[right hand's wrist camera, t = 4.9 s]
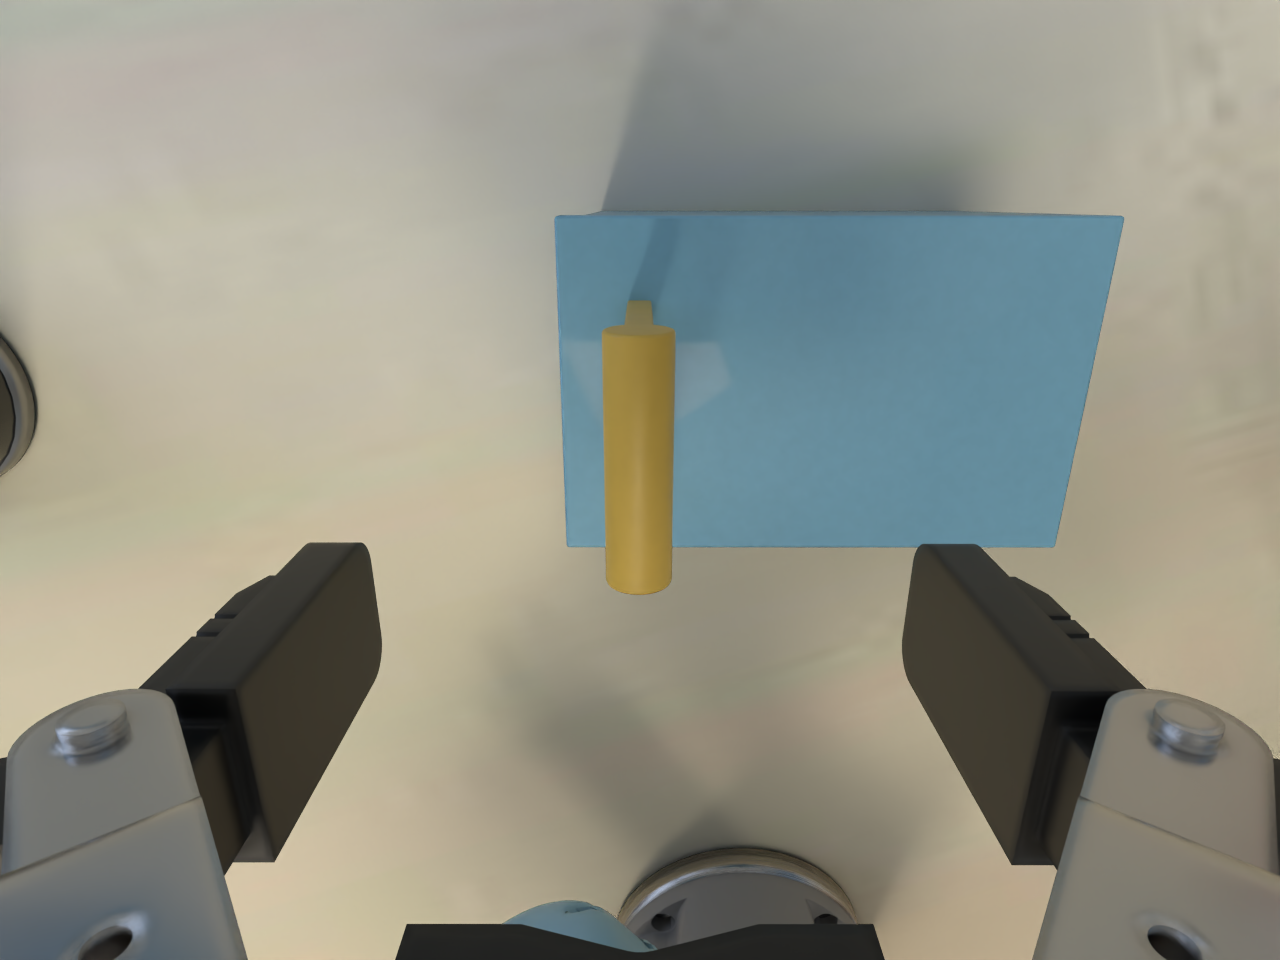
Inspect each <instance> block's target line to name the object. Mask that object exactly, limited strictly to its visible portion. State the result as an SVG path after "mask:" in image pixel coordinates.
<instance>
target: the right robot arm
mask: <svg viewBox="0 0 1280 960" xmlns="http://www.w3.org/2000/svg"><path fill="white" fill-rule="evenodd" d="M34 422H35V411H34V402H33V397H32V393H31V389H30V386H29V383H28V380H27V378H26V375H25V373H24V371H23V369H22V367H21V365H20V363H19V362H18V360H17V358H16V357H15V355H14V354H13V352H12V351H11V350H10V348H9V347H8V345H7V344H6V343H5V342H4V341H3V339H2V338H1V337H0V476H1V475H2V474H4V473H6V472H7V471H9V470H10V469H11V468H12V467H14V466H15V465H16V464H17V463H18V461H19V460H20V459H21V458H22V456H23V455H24V454H25V452H26V450H27V448H28V446H29V444H30V441H31V438H32V434H33V430H34ZM1070 617H1071V616H1070V615H1069V614H1068V613H1067V612H1066V611H1065V610H1064V609H1063V608H1062V607H1061V606H1060V605H1059V604H1058V603H1057V602H1056V601H1055V600H1053V599H1052V598H1051V597H1050V596H1049V595H1048V594H1046V593H1044V592H1042V591H1041V590H1039V589H1037V588H1035V587H1033V586H1031V585H1029V584H1028V583H1026V582H1024V581H1022V580H1020V579H1018V578H1016V577H1009V576H1008V575H1007V574H1006V573H1005V572H1004V571H1003V570H1002V569H1001V568H1000V567H999V566H998V565H997V564H996V563H995V562H994V561H993V560H992V559H991V558H990V557H989V556H988V555H987V554H986V553H985V552H984V551H983V549H982V548H981V547H979V546H978V545H976V544H921V545H920V546H919V547H918V549H917V551H916V553H915V556H914V561H913V567H912V574H911V581H910V588H909V595H908V602H907V609H906V616H905V624H904V631H903V639H902V655H903V663H904V668H905V672H906V675H907V678H908V681H909V683H910V684H911V686H912V688H913V690H914V692H915V693H916V695H917V697H918V699H919V701H920V702H921V704H922V706H923V708H924V709H925V711H926V713H927V715H928V717H929V718H930V720H931V722H932V724H933V725H934V727H935V729H936V731H937V733H938V734H939V736H940V738H941V740H942V742H943V743H944V745H945V747H946V749H947V750H948V752H949V754H950V756H951V758H952V759H953V761H954V763H955V765H956V767H957V768H958V770H959V772H960V774H961V775H962V777H963V779H964V781H965V783H966V784H967V786H968V788H969V790H970V791H971V793H972V795H973V797H974V799H975V800H976V802H977V804H978V806H979V808H980V809H981V811H982V813H983V815H984V816H985V818H986V820H987V822H988V824H989V825H990V827H991V829H992V831H993V832H994V834H995V836H996V838H997V840H998V841H999V843H1000V845H1001V847H1002V849H1003V850H1004V852H1005V854H1006V856H1007V857H1008V859H1009V861H1010V863H1011V865H1054V866H1055V868H1056V869H1057V874H1056V877H1055V881H1054V884H1053V888H1052V892H1051V895H1050V899H1049V902H1048V906H1047V909H1046V913H1045V916H1044V920H1043V923H1042V927H1041V930H1040V934H1039V937H1038V941H1037V944H1036V948H1035V951H1034V955H1033V959H1032V960H1280V760H1279V759H1274V758H1273V757H1272V753H1271V751H1270V749H1269V747H1268V745H1267V744H1266V743H1265V742H1264V740H1263V739H1262V738H1261V737H1260V736H1259V735H1258V734H1257V733H1256V732H1255V731H1254V730H1252V729H1251V728H1250V727H1249V726H1247V725H1246V724H1244V723H1243V722H1242V721H1240V720H1239V719H1237V718H1235V717H1234V716H1232V715H1230V714H1229V713H1227V712H1225V711H1223V710H1221V709H1219V708H1217V707H1214V706H1212V705H1210V704H1207V703H1205V702H1203V701H1200V700H1197V699H1194V698H1191V697H1188V696H1184V695H1181V694H1177V693H1172V692H1167V691H1162V690H1154V689H1146V688H1145V687H1144V686H1143V685H1142V684H1141V683H1140V682H1139V681H1138V680H1137V679H1136V678H1135V677H1134V676H1133V675H1132V674H1131V673H1129V672H1128V671H1127V670H1126V669H1125V668H1124V667H1123V666H1122V665H1121V664H1120V663H1119V662H1118V661H1117V660H1116V659H1115V658H1114V657H1113V656H1112V655H1111V654H1110V653H1109V652H1108V651H1107V650H1106V649H1104V648H1103V647H1102V646H1101V645H1100V644H1099V643H1098V642H1097V641H1096V640H1095V639H1094V638H1089V633H1088V632H1087V631H1086V630H1085V629H1084V628H1083V627H1082V626H1081V625H1080V624H1078V623H1077V622H1076V621H1075V620H1071V618H1070ZM381 653H382V638H381V629H380V622H379V615H378V608H377V601H376V593H375V586H374V579H373V572H372V565H371V559H370V555H369V551H368V549H367V547H366V546H365V545H364V544H363V543H308V544H306V545H305V546H304V547H303V548H302V549H301V550H300V551H299V552H298V553H297V554H296V555H295V556H294V557H293V558H292V559H291V560H290V561H289V562H288V563H287V564H286V565H285V566H284V567H283V568H282V570H281V571H280V572H279V573H278V574H277V575H276V576H268V577H266V578H264V579H262V580H260V581H259V582H257V583H255V584H253V585H251V586H249V587H247V588H246V589H244V590H242V591H240V592H238V593H236V594H235V595H234V596H233V597H232V598H231V599H230V600H229V601H228V602H227V603H226V604H225V605H224V606H223V607H222V608H221V609H220V610H219V611H218V612H217V613H216V614H215V618H214V619H210V620H209V621H208V622H207V623H205V624H204V625H203V626H202V627H201V628H200V629H199V630H198V631H197V636H196V637H191V638H190V639H189V640H188V641H187V642H186V643H185V644H184V645H183V646H182V647H181V648H180V649H179V650H178V651H177V652H176V653H175V654H174V655H172V656H171V657H170V658H169V659H168V660H167V661H166V662H165V663H164V664H163V665H162V666H161V667H160V668H159V669H158V670H157V671H156V672H155V673H154V674H153V675H152V676H151V677H150V678H149V679H148V680H147V681H146V682H145V683H144V684H143V685H142V686H141V687H139V688H138V689H126V690H118V691H113V692H108V693H103V694H99V695H96V696H92V697H89V698H86V699H83V700H80V701H77V702H75V703H73V704H70V705H68V706H66V707H63V708H61V709H59V710H57V711H55V712H53V713H51V714H50V715H48V716H46V717H45V718H43V719H41V720H40V721H38V722H37V723H36V724H34V725H33V726H31V727H30V728H29V729H28V730H26V731H25V732H24V733H23V734H22V735H21V736H20V737H19V738H18V739H17V740H16V742H15V743H14V744H13V745H12V747H11V749H10V751H9V753H8V756H7V757H6V758H1V759H0V960H248V959H247V955H246V951H245V948H244V944H243V941H242V937H241V934H240V930H239V927H238V923H237V920H236V916H235V913H234V909H233V906H232V902H231V899H230V895H229V892H228V888H227V884H226V881H225V877H224V876H225V874H226V872H227V871H228V869H229V867H230V866H231V864H232V863H233V862H275V860H276V858H277V856H278V855H279V853H280V851H281V849H282V847H283V846H284V844H285V842H286V840H287V838H288V837H289V835H290V833H291V831H292V829H293V828H294V826H295V824H296V822H297V820H298V819H299V817H300V815H301V813H302V811H303V810H304V808H305V806H306V804H307V802H308V801H309V799H310V797H311V795H312V793H313V791H314V790H315V788H316V786H317V784H318V782H319V781H320V779H321V777H322V775H323V773H324V772H325V770H326V768H327V766H328V764H329V763H330V761H331V759H332V757H333V755H334V754H335V752H336V750H337V748H338V746H339V745H340V743H341V741H342V739H343V737H344V736H345V734H346V732H347V730H348V728H349V727H350V725H351V723H352V721H353V719H354V717H355V716H356V714H357V712H358V710H359V708H360V707H361V705H362V703H363V701H364V699H365V698H366V696H367V694H368V692H369V690H370V689H371V687H372V685H373V683H374V681H375V679H376V677H377V674H378V671H379V667H380V661H381ZM395 960H885V959H884V956H883V953H882V950H881V947H880V944H879V941H878V938H877V935H876V931H875V928H874V925H873V924H757V925H753V926H749V927H745V928H741V929H737V930H733V931H729V932H725V933H721V934H717V935H713V936H709V937H705V938H702V939H698V940H694V941H690V942H686V943H682V944H678V945H674V946H670V947H666V948H662V949H658V950H654V951H648V952H632V951H626V950H622V949H618V948H614V947H610V946H606V945H602V944H598V943H594V942H590V941H586V940H582V939H578V938H575V937H571V936H567V935H563V934H559V933H555V932H551V931H547V930H543V929H539V928H535V927H531V926H527V925H523V924H407V925H406V928H405V931H404V935H403V938H402V941H401V944H400V947H399V950H398V953H397V956H396V959H395Z"/></svg>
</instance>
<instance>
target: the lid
mask: <svg viewBox="0 0 1280 960" xmlns="http://www.w3.org/2000/svg"><path fill="white" fill-rule="evenodd" d="M1123 223H1124V217H1122V216H1110V215H560V216H556V217H555V244H556V271H557V298H558V324H559V351H560V378H561V404H562V431H563V458H564V484H565V511H566V538H567V546H568V547H606V580H607V582H608V584H609V585H610V587H612V588H613V589H615V590H617V591H619V592H622V593H626V594H633V595H644V594H652V593H656V592H659V591H661V590H663V589H665V588H666V587H667V586H668V585H669V584H670V582H671V579H672V547H919V546H920V545H921V544H976V545H978V546H979V547H1054V546H1055V542H1056V538H1057V533H1058V528H1059V524H1060V519H1061V514H1062V509H1063V505H1064V500H1065V495H1066V491H1067V486H1068V481H1069V477H1070V472H1071V467H1072V462H1073V458H1074V453H1075V448H1076V444H1077V439H1078V434H1079V430H1080V425H1081V420H1082V415H1083V411H1084V406H1085V401H1086V397H1087V392H1088V387H1089V382H1090V378H1091V373H1092V368H1093V364H1094V359H1095V354H1096V350H1097V345H1098V340H1099V335H1100V331H1101V326H1102V321H1103V317H1104V312H1105V307H1106V303H1107V298H1108V293H1109V288H1110V284H1111V279H1112V274H1113V270H1114V265H1115V260H1116V255H1117V251H1118V246H1119V241H1120V237H1121V232H1122V227H1123Z"/></svg>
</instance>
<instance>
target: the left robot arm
mask: <svg viewBox="0 0 1280 960" xmlns="http://www.w3.org/2000/svg"><path fill="white" fill-rule="evenodd" d="M503 924H523V925H527V926H531V927H535V928H539V929H543V930H547V931H551V932H555V933H559V934H563V935H567V936H571V937H575V938H578V939H582V940H586V941H590V942H594V943H598V944H602V945H606V946H610V947H614V948H618V949H622V950H626V951H632V952H648V951H654V950H658V949H662V948H666V947H670V946H674V945H678V944H682V943H686V942H690V941H694V940H698V939H702V938H705V937H709V936H713V935H717V934H721V933H725V932H729V931H733V930H737V929H741V928H745V927H749V926H753V925H757V924H858V923H857V919H856V916H855V913H854V910H853V907H852V905H851V903H850V901H849V899H848V898H847V896H846V895H845V893H844V892H843V891H842V889H841V888H840V887H839V886H838V885H837V884H836V883H835V882H834V881H833V880H832V879H831V878H830V877H829V876H827V875H826V874H825V873H823V872H822V871H821V870H819V869H817V868H816V867H814V866H812V865H811V864H808V863H806V862H804V861H802V860H800V859H797V858H795V857H792V856H789V855H785V854H782V853H778V852H773V851H768V850H760V849H747V848H735V849H722V850H714V851H709V852H704V853H700V854H696V855H693V856H690V857H687V858H684V859H681V860H679V861H677V862H674V863H672V864H670V865H668V866H666V867H664V868H663V869H661V870H659V871H658V872H656V873H655V874H653V875H652V876H650V877H649V878H648V879H647V880H645V881H644V882H643V883H642V884H641V885H640V886H639V887H638V888H637V889H636V890H635V891H634V892H633V893H632V894H631V896H630V897H629V898H628V900H627V901H626V903H625V904H624V906H623V908H622V910H621V912H620V914H619V917H618V920H617V919H616V918H615V917H614V916H612V915H611V914H610V913H608V912H607V911H605V910H604V909H602V908H600V907H597V906H593V905H591V904H589V903H587V902H582V901H573V900H565V901H558V902H551V903H547V904H543V905H539V906H536V907H534V908H531V909H529V910H527V911H524V912H522V913H520V914H518V915H516V916H514V917H513V918H511V919H509V920H508V921H506V922H504V923H503Z"/></svg>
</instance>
